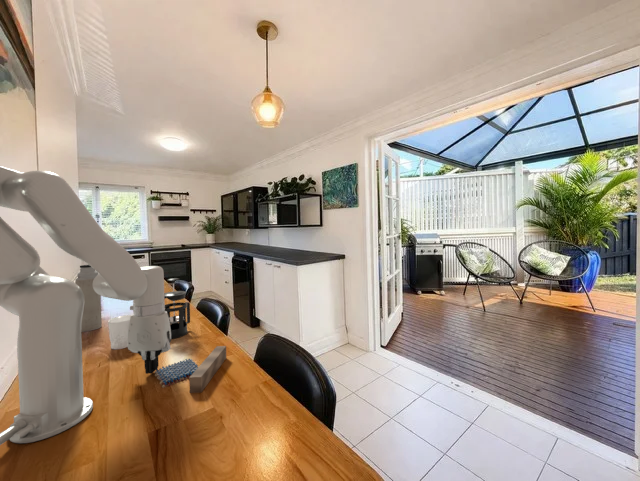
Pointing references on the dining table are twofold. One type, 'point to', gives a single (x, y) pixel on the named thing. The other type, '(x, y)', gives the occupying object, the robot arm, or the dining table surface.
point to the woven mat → (176, 372)
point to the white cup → (119, 331)
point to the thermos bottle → (89, 299)
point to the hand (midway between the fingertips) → (151, 371)
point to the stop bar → (207, 369)
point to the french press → (176, 322)
